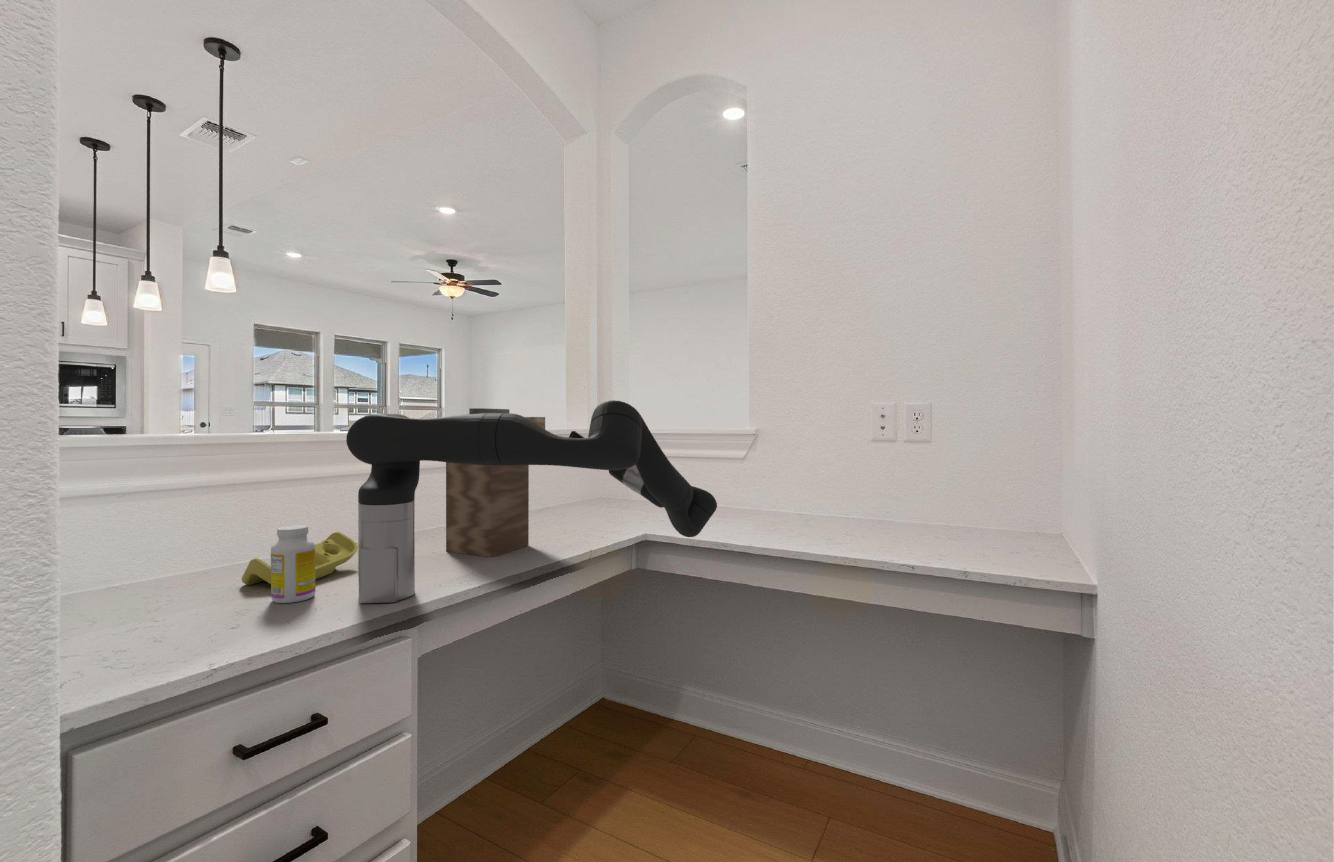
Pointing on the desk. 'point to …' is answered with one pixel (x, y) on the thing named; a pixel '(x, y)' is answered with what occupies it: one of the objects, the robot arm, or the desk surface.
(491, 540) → the pedestal
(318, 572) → the plastic component
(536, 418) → the hammer
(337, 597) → the desk surface
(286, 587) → the supplement bottle
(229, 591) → the desk surface
